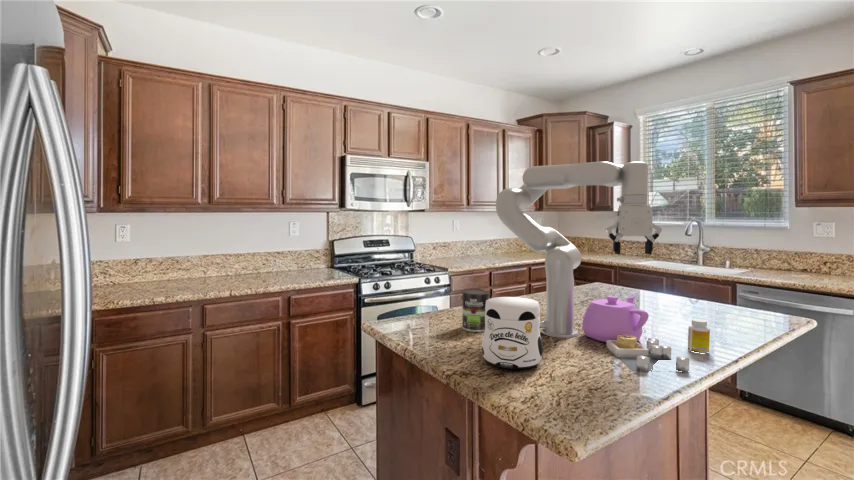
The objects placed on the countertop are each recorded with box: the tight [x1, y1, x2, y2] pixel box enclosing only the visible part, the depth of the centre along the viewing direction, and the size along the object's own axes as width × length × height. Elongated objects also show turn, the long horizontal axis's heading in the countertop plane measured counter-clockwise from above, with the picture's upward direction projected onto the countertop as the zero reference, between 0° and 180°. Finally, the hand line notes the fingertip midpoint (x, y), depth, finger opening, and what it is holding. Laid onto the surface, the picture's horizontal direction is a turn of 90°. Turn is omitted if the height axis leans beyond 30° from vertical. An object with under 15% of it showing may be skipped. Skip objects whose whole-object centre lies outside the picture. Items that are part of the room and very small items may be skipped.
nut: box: [617, 334, 638, 349], centre depth 127 cm, size 6×5×4 cm
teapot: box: [581, 294, 649, 343], centre depth 141 cm, size 23×21×15 cm
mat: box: [614, 354, 658, 373], centre depth 121 cm, size 15×20×1 cm
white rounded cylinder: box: [481, 296, 544, 370], centre depth 119 cm, size 17×17×18 cm
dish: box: [606, 340, 649, 358], centre depth 127 cm, size 9×9×2 cm
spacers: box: [636, 337, 690, 373], centre depth 120 cm, size 14×20×4 cm
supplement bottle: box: [687, 318, 711, 353], centre depth 127 cm, size 6×6×10 cm
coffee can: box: [461, 289, 491, 333], centre depth 155 cm, size 10×10×14 cm
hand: (632, 253), depth 133 cm, fingers open, 9 cm apart
